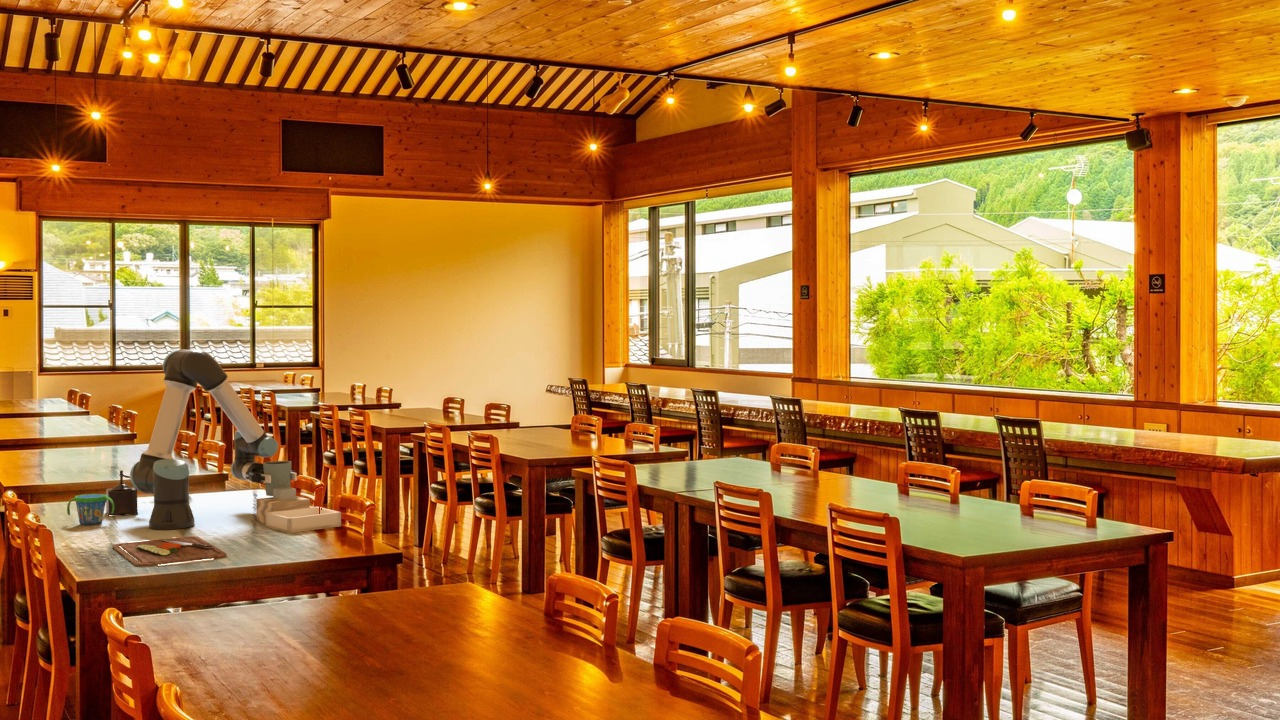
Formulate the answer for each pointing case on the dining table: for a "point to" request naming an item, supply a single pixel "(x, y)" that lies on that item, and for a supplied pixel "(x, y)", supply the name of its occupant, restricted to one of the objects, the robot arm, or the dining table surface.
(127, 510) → the manual coffee grinder
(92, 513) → the snack cup
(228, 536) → the dining table surface
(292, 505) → the block
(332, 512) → the box
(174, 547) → the chopping board
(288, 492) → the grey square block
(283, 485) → the grey green tapered cup
